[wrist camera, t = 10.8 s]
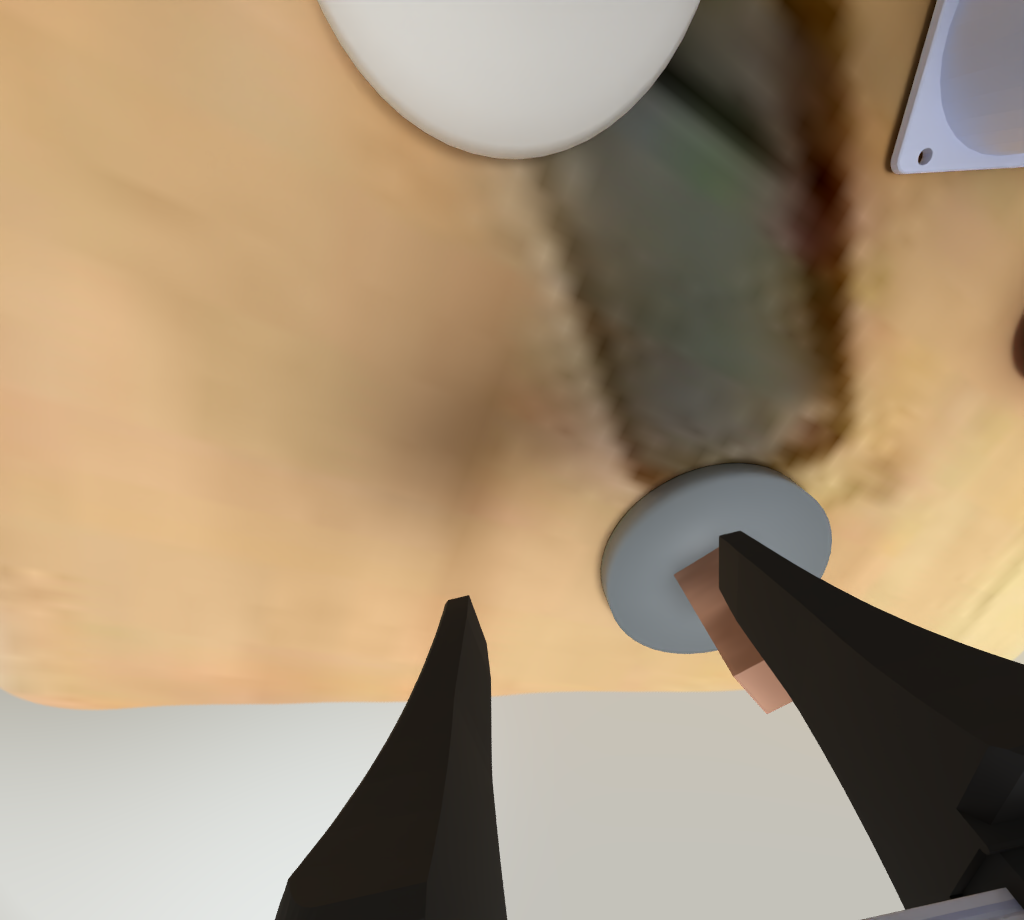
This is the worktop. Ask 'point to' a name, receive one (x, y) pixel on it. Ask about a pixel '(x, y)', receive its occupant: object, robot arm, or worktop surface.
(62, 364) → the worktop surface
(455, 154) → the worktop surface
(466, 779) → the robot arm
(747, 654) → the terracotta block
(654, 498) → the slate base plate
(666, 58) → the flower in vase
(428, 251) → the worktop surface
